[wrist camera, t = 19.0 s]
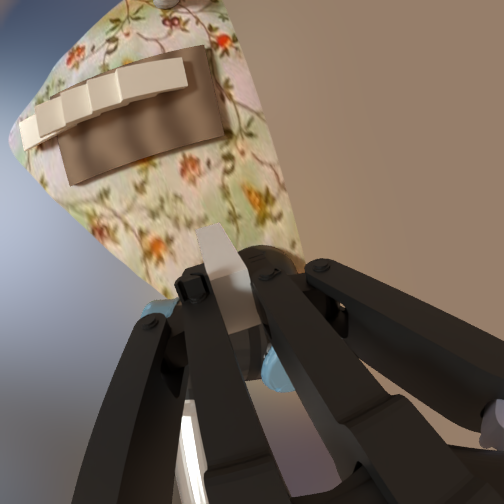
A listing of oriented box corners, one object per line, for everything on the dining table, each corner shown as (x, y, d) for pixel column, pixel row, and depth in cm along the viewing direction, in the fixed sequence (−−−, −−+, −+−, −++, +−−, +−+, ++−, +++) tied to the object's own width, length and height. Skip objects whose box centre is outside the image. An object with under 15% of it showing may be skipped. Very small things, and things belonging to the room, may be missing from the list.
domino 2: (95, 84, 30) (34, 106, 25) (100, 113, 32) (39, 136, 27) (94, 87, 31) (35, 109, 26) (100, 115, 33) (40, 138, 29)
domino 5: (181, 57, 32) (116, 68, 27) (188, 85, 34) (122, 99, 29) (177, 60, 33) (114, 72, 29) (184, 88, 35) (120, 102, 31)
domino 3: (123, 73, 31) (59, 92, 26) (129, 102, 33) (65, 123, 28) (122, 77, 32) (60, 96, 27) (127, 105, 34) (65, 125, 29)
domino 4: (152, 64, 31) (86, 80, 27) (158, 93, 33) (92, 111, 29) (149, 68, 33) (86, 83, 28) (155, 96, 35) (91, 113, 30)
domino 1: (68, 96, 29) (19, 123, 27) (73, 124, 31) (24, 150, 30) (71, 97, 30) (23, 123, 29) (77, 125, 33) (28, 150, 31)
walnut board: (202, 47, 35) (203, 44, 33) (222, 135, 41) (224, 135, 40) (53, 98, 30) (49, 97, 29) (73, 185, 37) (70, 186, 36)
